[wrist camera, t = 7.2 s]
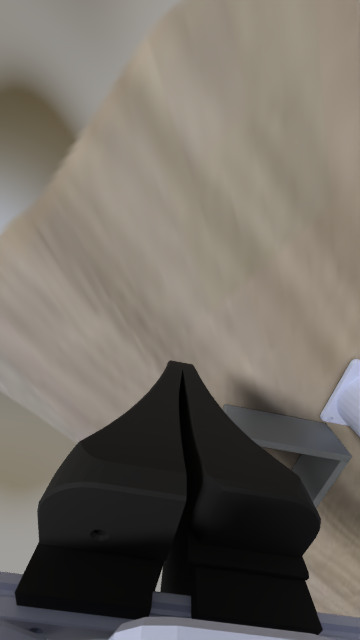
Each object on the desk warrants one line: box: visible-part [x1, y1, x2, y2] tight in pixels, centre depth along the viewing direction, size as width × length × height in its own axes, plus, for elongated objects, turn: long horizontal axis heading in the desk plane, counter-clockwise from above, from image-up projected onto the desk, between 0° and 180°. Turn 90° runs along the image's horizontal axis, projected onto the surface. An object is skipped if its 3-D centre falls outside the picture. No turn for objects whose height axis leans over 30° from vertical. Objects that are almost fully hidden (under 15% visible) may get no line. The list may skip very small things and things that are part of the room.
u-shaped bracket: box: [223, 404, 352, 507], centre depth 25 cm, size 12×18×4 cm
